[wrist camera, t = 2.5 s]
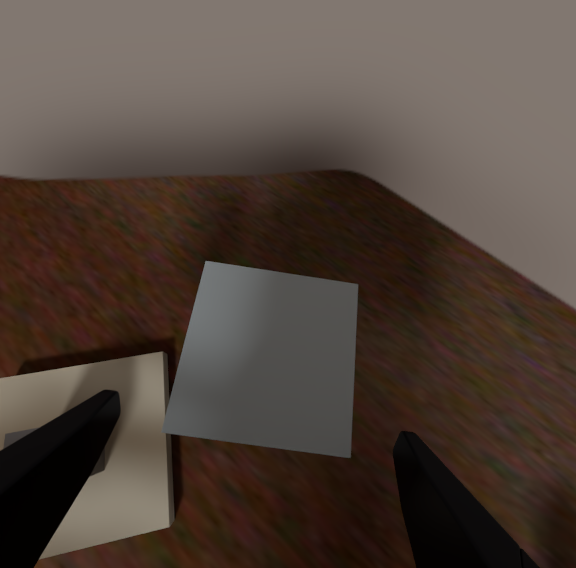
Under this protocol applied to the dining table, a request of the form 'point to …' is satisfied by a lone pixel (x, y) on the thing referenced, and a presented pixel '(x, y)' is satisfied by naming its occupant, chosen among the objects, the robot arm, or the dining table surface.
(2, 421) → the post board
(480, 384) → the dining table surface
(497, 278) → the dining table surface
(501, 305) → the dining table surface
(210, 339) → the grey tall rectangular block
